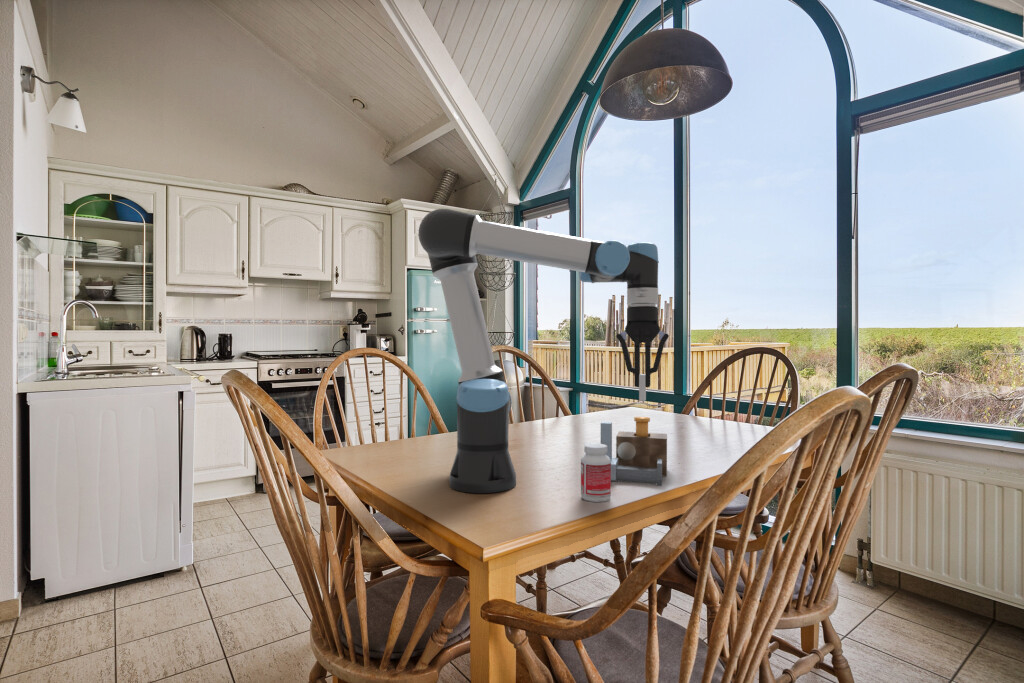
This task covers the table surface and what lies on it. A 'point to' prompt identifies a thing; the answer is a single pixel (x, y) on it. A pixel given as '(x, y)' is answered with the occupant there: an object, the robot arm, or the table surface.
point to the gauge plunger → (642, 426)
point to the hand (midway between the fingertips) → (642, 400)
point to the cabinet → (641, 450)
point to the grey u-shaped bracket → (640, 474)
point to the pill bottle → (595, 473)
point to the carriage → (609, 445)
